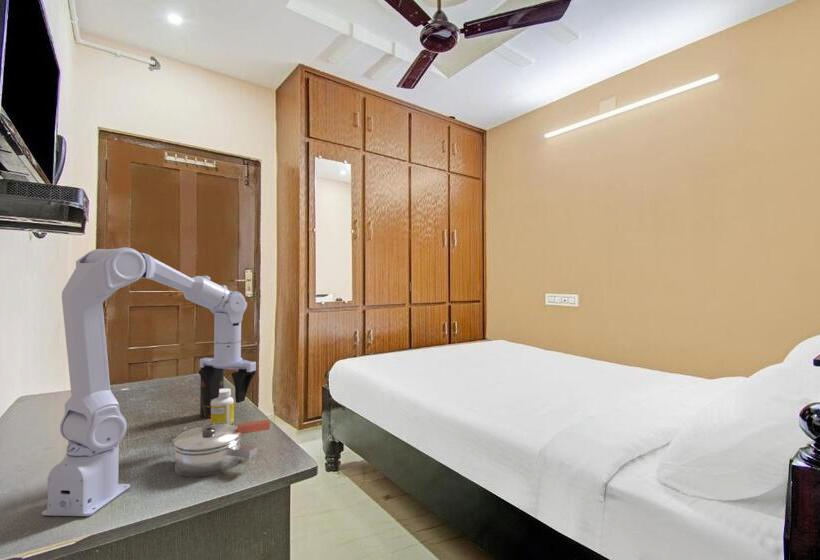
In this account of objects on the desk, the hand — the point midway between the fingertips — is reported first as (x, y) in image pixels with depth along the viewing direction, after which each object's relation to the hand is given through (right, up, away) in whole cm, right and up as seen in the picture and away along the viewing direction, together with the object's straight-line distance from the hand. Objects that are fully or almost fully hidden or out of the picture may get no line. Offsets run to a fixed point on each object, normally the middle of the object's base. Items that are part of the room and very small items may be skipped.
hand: (227, 399), depth 93 cm
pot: (+2, -10, -10) cm, 15 cm away
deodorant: (-14, -11, +20) cm, 27 cm away
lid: (+3, -5, -8) cm, 10 cm away
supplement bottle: (-6, -11, +10) cm, 16 cm away
